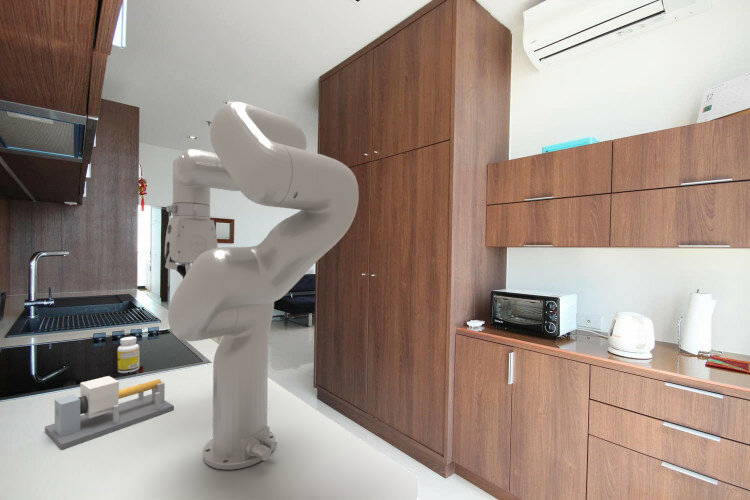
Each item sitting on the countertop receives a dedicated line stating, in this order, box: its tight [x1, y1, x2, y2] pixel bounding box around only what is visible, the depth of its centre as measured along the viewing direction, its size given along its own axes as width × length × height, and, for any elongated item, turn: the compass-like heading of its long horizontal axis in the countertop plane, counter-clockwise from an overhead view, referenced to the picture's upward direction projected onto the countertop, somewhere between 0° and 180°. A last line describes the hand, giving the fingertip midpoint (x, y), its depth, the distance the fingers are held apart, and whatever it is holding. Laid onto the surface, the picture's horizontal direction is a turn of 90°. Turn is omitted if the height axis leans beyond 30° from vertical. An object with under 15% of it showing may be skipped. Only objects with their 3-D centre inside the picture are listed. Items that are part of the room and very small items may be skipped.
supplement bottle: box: [117, 336, 140, 374], centre depth 107 cm, size 5×5×10 cm
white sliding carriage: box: [79, 375, 120, 418], centre depth 75 cm, size 5×6×6 cm
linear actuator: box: [44, 378, 175, 451], centre depth 77 cm, size 20×11×7 cm, turn 145°
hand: (191, 293), depth 80 cm, fingers closed
